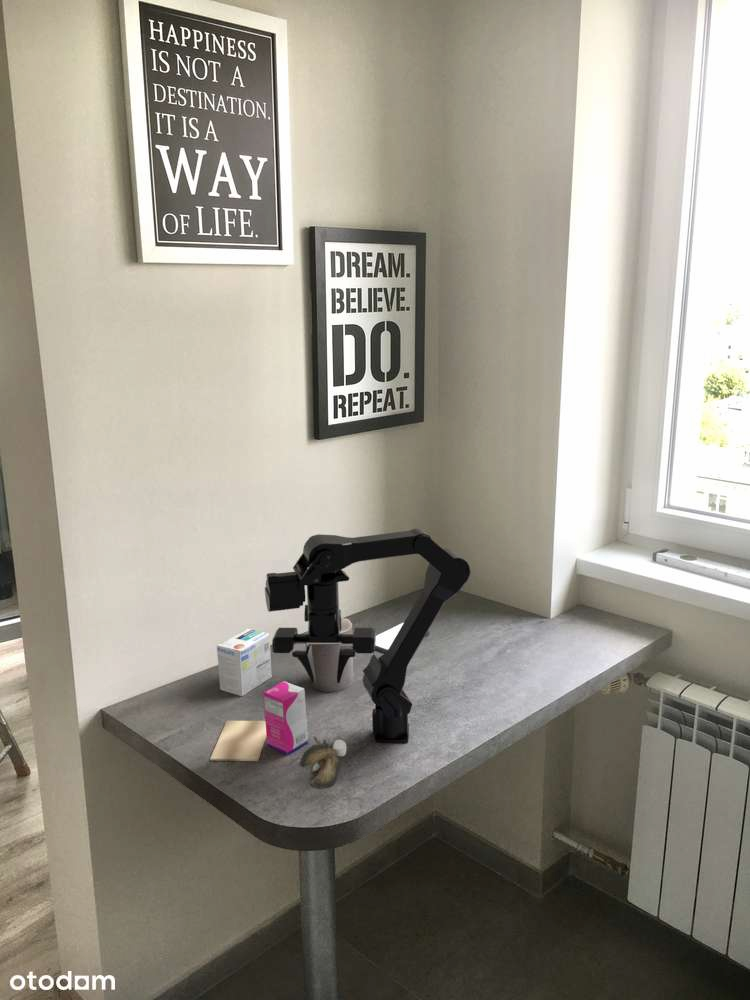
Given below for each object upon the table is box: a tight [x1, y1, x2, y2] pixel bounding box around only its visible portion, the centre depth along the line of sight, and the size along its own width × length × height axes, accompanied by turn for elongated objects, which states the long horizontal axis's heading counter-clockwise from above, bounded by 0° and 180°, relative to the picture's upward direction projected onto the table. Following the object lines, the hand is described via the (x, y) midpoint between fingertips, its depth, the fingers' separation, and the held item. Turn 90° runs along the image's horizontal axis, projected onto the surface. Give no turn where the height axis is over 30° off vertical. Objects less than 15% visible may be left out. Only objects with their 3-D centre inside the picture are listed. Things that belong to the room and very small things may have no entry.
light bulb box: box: [216, 628, 273, 697], centre depth 184 cm, size 11×7×11 cm, turn 149°
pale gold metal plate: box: [209, 720, 267, 762], centre depth 162 cm, size 9×14×1 cm, turn 177°
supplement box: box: [262, 681, 309, 756], centre depth 159 cm, size 6×6×12 cm
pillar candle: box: [307, 617, 354, 693], centre depth 184 cm, size 10×10×15 cm
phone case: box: [375, 621, 431, 654], centre depth 207 cm, size 9×2×16 cm
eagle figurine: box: [298, 736, 348, 790], centre depth 150 cm, size 8×7×9 cm
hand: (326, 682), depth 157 cm, fingers open, 4 cm apart
